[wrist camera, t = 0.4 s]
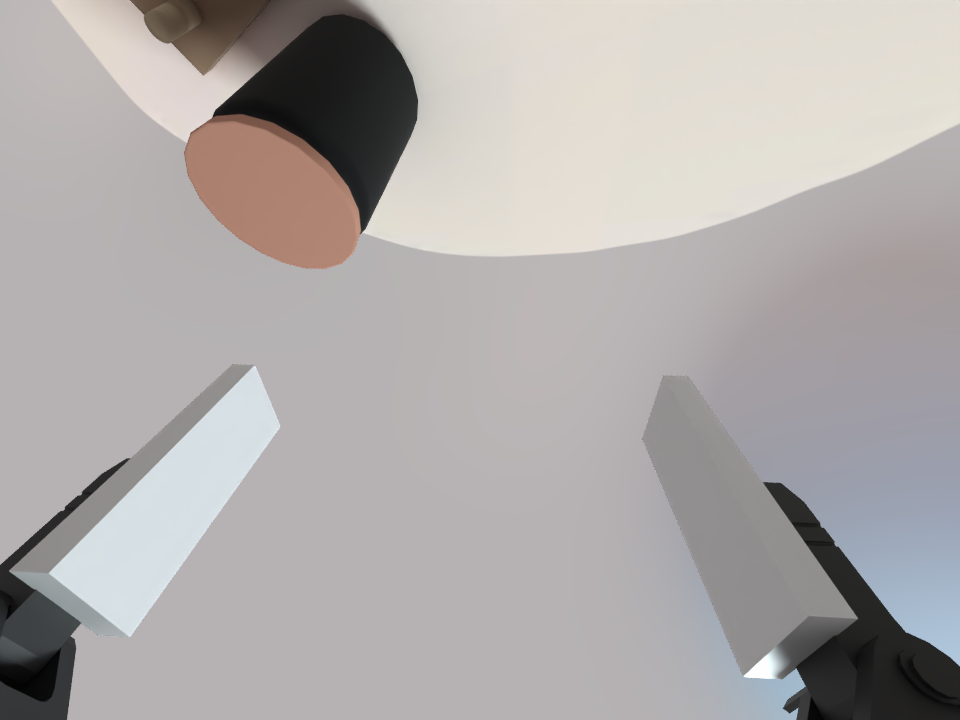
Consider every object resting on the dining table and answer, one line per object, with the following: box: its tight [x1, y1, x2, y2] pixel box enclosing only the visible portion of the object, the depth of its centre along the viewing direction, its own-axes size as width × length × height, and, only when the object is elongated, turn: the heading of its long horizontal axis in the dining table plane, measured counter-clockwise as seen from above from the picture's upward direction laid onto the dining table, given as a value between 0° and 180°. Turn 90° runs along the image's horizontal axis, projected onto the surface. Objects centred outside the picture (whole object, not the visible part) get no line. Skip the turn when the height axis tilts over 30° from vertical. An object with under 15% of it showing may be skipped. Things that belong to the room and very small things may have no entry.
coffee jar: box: [184, 14, 418, 269], centre depth 29 cm, size 11×11×18 cm
